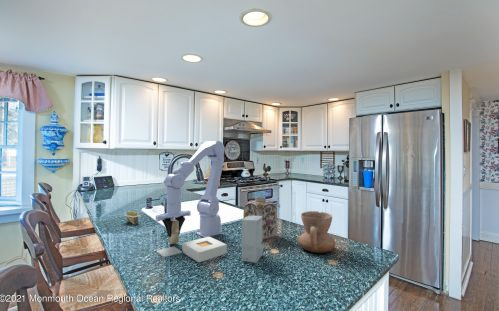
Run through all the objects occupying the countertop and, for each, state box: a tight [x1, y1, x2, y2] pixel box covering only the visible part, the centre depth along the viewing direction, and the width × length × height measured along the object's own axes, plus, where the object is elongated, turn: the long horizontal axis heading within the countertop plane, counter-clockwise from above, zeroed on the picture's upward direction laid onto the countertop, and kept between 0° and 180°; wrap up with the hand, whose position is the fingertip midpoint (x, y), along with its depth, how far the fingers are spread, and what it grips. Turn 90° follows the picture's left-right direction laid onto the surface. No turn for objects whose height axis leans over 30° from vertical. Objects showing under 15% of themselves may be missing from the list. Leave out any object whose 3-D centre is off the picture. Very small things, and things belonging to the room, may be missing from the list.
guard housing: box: [181, 236, 227, 263], centre depth 94 cm, size 12×12×4 cm
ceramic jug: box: [297, 210, 336, 254], centre depth 99 cm, size 18×14×14 cm
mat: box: [155, 246, 183, 258], centre depth 94 cm, size 7×7×1 cm
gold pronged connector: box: [124, 210, 142, 225], centre depth 132 cm, size 12×18×7 cm, turn 67°
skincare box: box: [241, 215, 264, 264], centre depth 90 cm, size 8×6×15 cm
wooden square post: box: [168, 219, 180, 245], centre depth 102 cm, size 3×3×9 cm
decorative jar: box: [242, 196, 278, 241], centre depth 116 cm, size 12×12×18 cm
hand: (173, 235), depth 102 cm, fingers closed on wooden square post, 3 cm apart
